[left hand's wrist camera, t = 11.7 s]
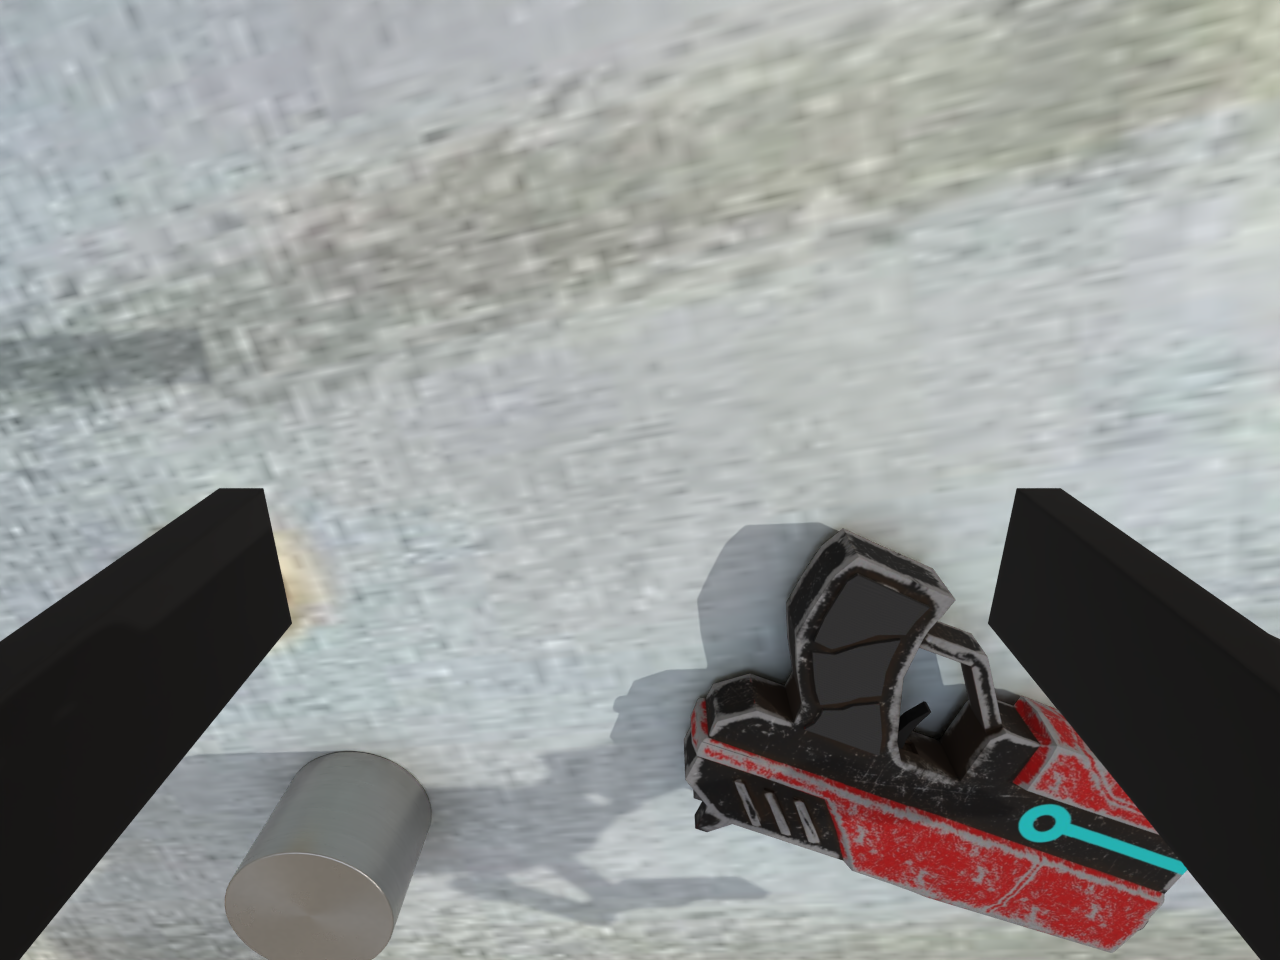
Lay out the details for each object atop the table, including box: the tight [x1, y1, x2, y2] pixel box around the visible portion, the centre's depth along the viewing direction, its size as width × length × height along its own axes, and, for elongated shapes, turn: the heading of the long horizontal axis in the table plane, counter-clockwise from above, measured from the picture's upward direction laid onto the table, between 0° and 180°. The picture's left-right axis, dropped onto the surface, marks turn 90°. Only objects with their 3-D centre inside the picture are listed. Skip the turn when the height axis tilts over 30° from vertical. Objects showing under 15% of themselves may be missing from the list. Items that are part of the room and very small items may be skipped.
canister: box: [225, 752, 431, 960], centre depth 42 cm, size 9×9×8 cm
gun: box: [684, 529, 1187, 953], centre depth 41 cm, size 4×31×19 cm
